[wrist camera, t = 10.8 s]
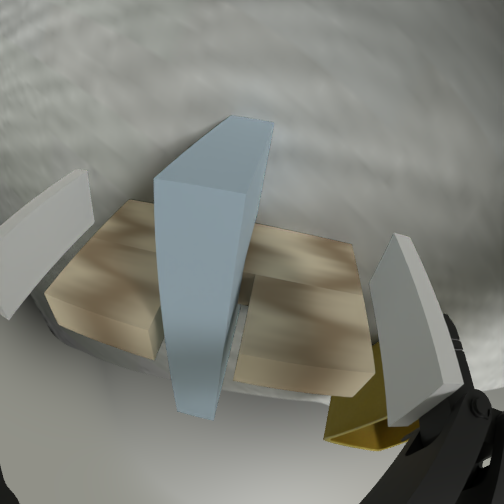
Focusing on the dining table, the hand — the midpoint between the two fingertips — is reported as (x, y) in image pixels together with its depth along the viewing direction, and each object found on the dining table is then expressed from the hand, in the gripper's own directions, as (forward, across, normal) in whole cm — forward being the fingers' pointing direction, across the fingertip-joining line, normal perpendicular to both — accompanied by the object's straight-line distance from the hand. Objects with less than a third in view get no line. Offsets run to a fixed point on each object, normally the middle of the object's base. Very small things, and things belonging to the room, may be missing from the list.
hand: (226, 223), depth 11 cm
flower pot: (+7, +16, -16) cm, 23 cm away
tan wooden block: (+7, 0, -5) cm, 9 cm away
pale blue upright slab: (+7, 0, -5) cm, 9 cm away
